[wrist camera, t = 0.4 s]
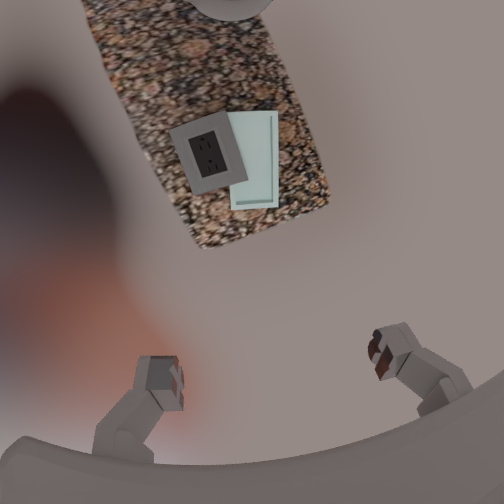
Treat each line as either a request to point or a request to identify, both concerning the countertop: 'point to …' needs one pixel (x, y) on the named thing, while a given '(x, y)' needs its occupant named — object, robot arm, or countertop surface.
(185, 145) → the electrical outlet
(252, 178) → the parts tray
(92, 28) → the countertop surface
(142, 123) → the countertop surface
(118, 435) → the robot arm
